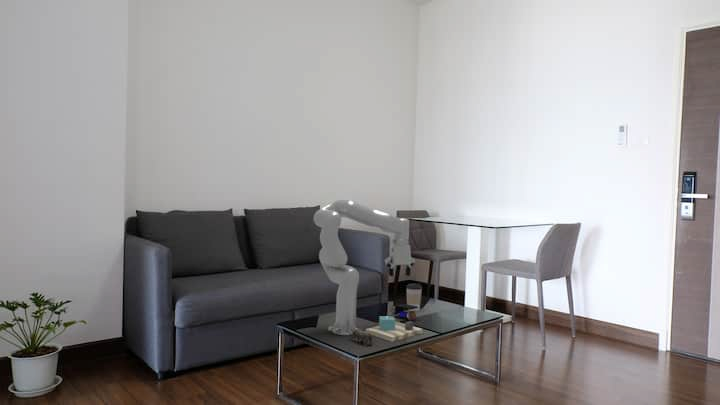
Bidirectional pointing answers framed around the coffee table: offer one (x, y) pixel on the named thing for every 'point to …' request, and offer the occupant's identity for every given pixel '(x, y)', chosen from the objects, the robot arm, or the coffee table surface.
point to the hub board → (396, 331)
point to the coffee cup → (414, 295)
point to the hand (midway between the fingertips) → (399, 275)
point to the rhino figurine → (362, 336)
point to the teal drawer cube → (386, 323)
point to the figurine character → (399, 311)
